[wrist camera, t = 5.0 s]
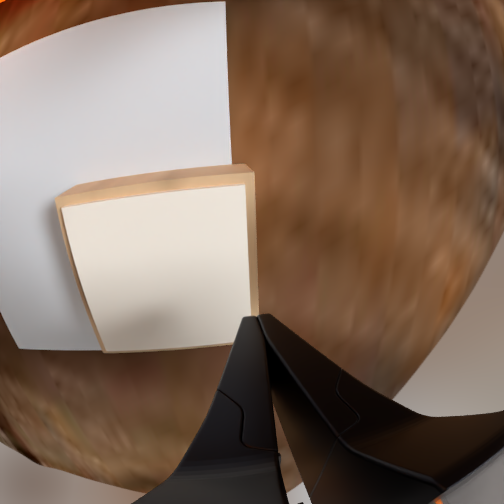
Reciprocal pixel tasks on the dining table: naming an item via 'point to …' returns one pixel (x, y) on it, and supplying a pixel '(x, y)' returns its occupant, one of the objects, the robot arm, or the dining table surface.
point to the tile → (164, 256)
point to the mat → (98, 142)
